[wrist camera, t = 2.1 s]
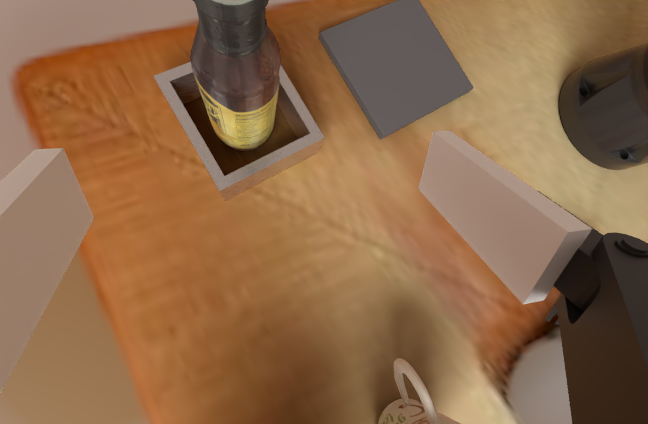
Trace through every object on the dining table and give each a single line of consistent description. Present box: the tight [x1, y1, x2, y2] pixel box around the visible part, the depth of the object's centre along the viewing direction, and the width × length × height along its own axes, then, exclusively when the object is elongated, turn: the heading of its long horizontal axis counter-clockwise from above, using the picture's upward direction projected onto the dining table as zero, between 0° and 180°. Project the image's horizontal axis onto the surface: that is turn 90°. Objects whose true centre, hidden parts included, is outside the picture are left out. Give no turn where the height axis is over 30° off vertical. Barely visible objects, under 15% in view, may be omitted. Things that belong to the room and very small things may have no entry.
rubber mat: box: [319, 0, 473, 140], centre depth 39 cm, size 14×14×1 cm
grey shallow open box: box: [154, 62, 324, 201], centre depth 32 cm, size 11×12×4 cm
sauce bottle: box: [190, 0, 281, 151], centre depth 25 cm, size 7×6×20 cm
